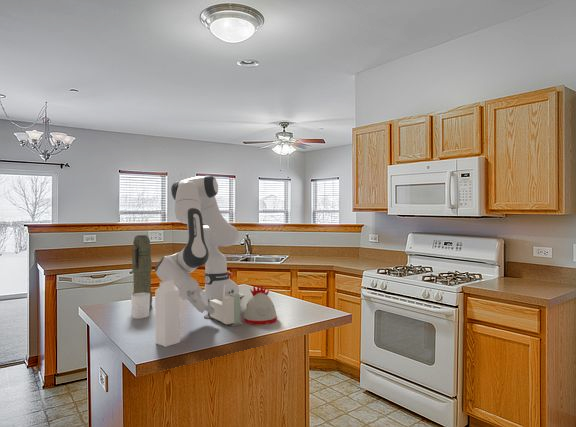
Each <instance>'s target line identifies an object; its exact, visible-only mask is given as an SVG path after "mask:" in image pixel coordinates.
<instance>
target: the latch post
mask: <svg viewBox="0 0 576 427" xmlns="http://www.w3.org/2000/svg"><path fill="white" fill-rule="evenodd" d="M230 296H232V297H234V323H231V324H228V325H230V326H231V327H235V326H240V325H244V323H245V322H242V321H241V297H240V295H239V294H232V295H230Z"/></svg>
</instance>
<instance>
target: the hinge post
mask: <svg viewBox="0 0 576 427" xmlns="http://www.w3.org/2000/svg"><path fill="white" fill-rule="evenodd" d="M210 300H213V298H209V299H208V303H209V304H210ZM203 318H204V319H207V320H212V319H214V320H215V318H212V317H210V313H209V312H207V314H205V315H204V316H203Z"/></svg>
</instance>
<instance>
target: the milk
mask: <svg viewBox="0 0 576 427" xmlns="http://www.w3.org/2000/svg"><path fill="white" fill-rule="evenodd" d="M154 295H155V296H154V297H155V299H154V301H155V302H154V304H155V305H154V307H155V311H154V312H155V315H154V316H155V317H154V318H155V319H154V320H155V322H154V323H155V344H156V345H159V346H161V347H165V348H166V347H170V346H173V345H176V344H179V343H181V341H180V339H181V338H180V337H181V336H180V330H181V328H180V297H179V289H178V288H177V287H176V286H175V285H174V280H172V281H166V282H163V281H160V282H159V287H158V288H157V289H155V291H154Z"/></svg>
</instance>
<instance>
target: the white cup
mask: <svg viewBox="0 0 576 427" xmlns="http://www.w3.org/2000/svg"><path fill="white" fill-rule="evenodd" d="M130 298H131V310H132V318H133V319H137V320H138V319H139V320H141V319H146V318H149V317H150V309H151V308H150V307H149V306H150V293H135V294H133V293H132V294H131V297H130Z"/></svg>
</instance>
